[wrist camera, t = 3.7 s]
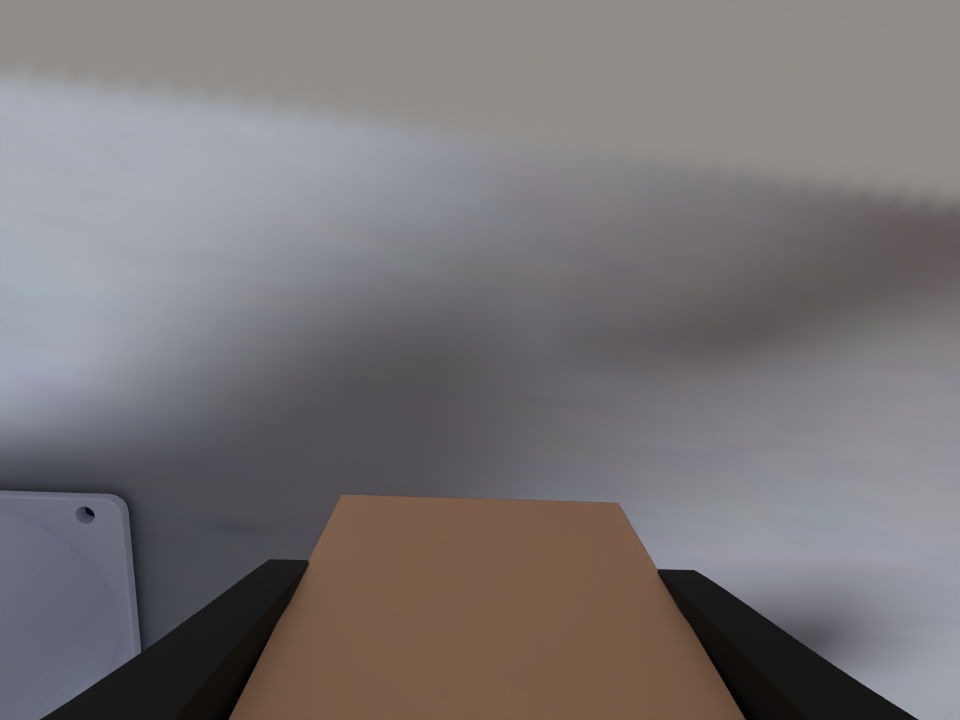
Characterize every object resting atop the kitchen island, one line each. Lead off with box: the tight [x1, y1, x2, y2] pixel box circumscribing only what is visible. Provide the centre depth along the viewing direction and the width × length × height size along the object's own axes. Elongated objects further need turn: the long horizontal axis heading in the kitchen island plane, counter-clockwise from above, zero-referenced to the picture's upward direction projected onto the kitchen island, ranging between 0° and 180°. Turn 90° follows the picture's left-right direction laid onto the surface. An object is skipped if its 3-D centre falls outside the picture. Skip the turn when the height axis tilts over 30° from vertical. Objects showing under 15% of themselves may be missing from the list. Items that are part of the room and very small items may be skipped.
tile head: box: [229, 494, 746, 720], centre depth 7 cm, size 5×2×7 cm, turn 87°
